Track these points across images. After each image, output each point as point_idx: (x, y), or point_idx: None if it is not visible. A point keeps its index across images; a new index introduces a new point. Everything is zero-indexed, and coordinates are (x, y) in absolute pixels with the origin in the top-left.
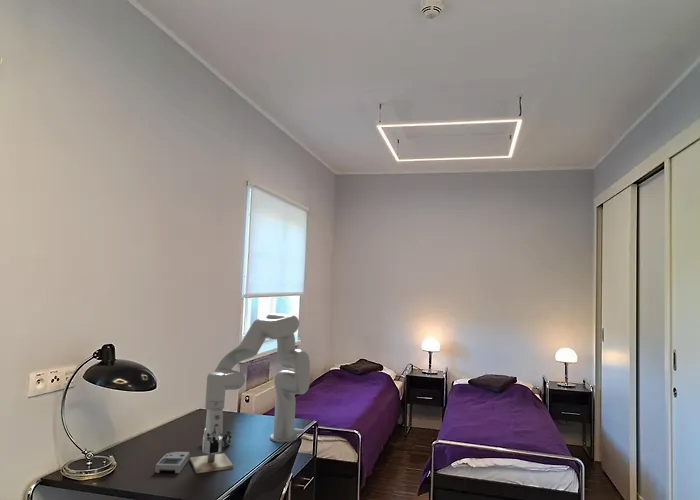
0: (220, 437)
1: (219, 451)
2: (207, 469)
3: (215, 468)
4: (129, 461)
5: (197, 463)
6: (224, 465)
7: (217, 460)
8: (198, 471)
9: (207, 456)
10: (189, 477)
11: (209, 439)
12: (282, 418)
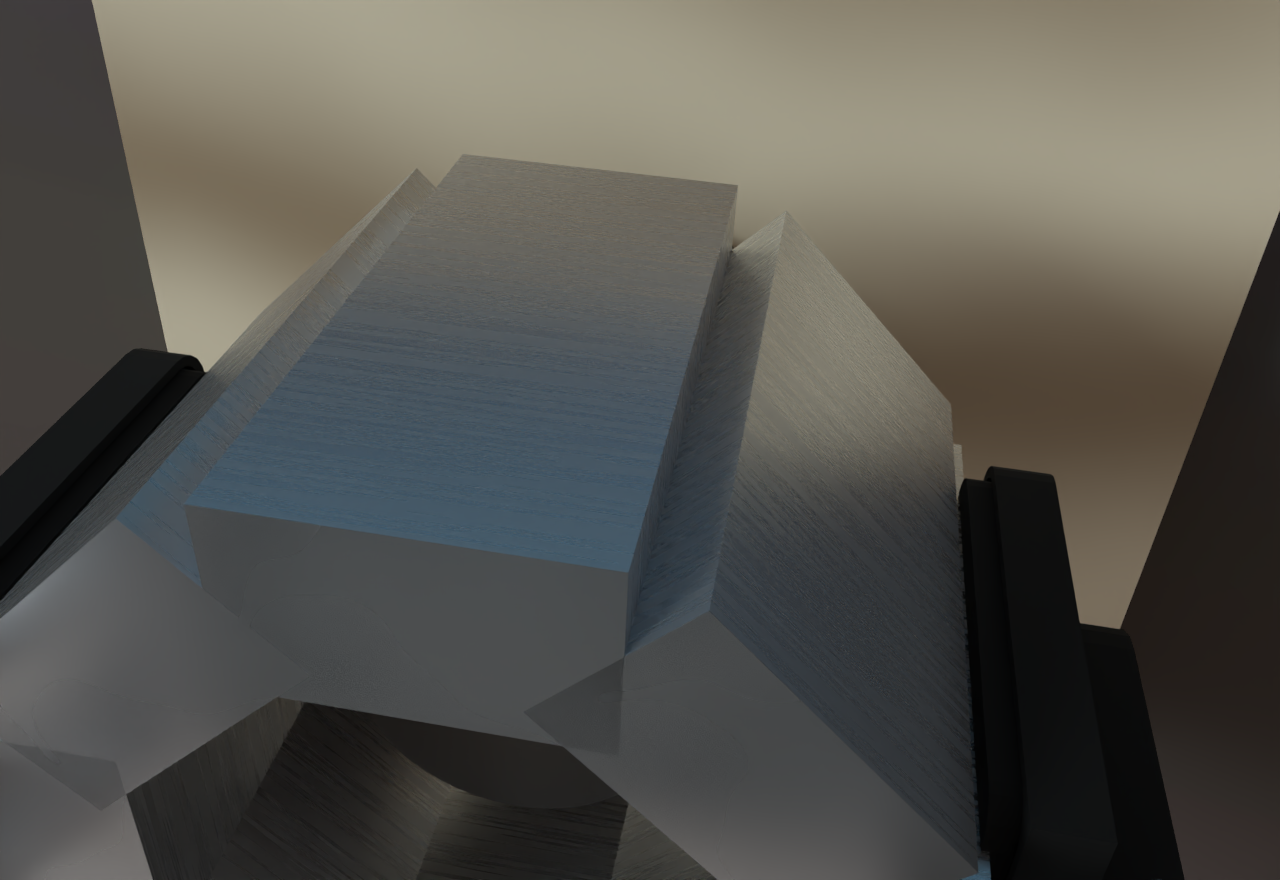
0: (406, 579)
1: (859, 316)
2: (1149, 535)
3: (1213, 341)
4: None
5: None
6: (1256, 50)
7: (667, 111)
8: None
9: (235, 263)
10: (1191, 836)
11: (229, 812)
12: None
